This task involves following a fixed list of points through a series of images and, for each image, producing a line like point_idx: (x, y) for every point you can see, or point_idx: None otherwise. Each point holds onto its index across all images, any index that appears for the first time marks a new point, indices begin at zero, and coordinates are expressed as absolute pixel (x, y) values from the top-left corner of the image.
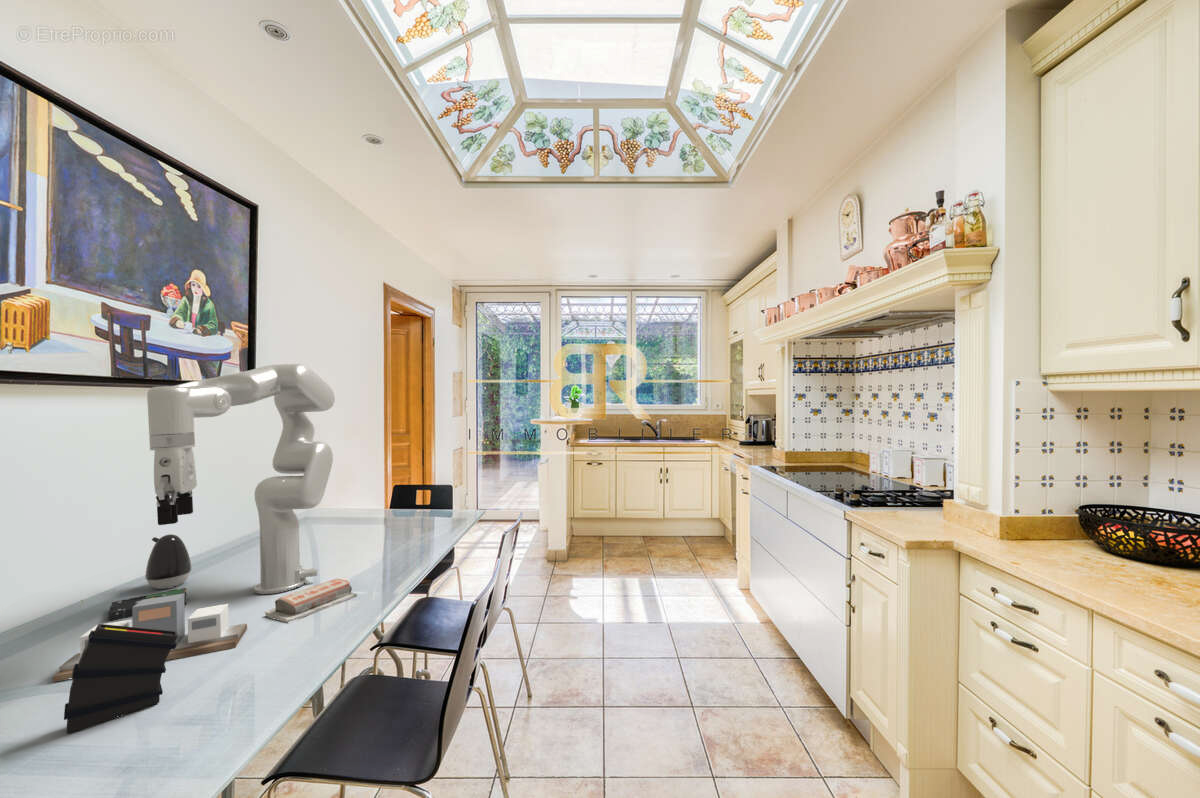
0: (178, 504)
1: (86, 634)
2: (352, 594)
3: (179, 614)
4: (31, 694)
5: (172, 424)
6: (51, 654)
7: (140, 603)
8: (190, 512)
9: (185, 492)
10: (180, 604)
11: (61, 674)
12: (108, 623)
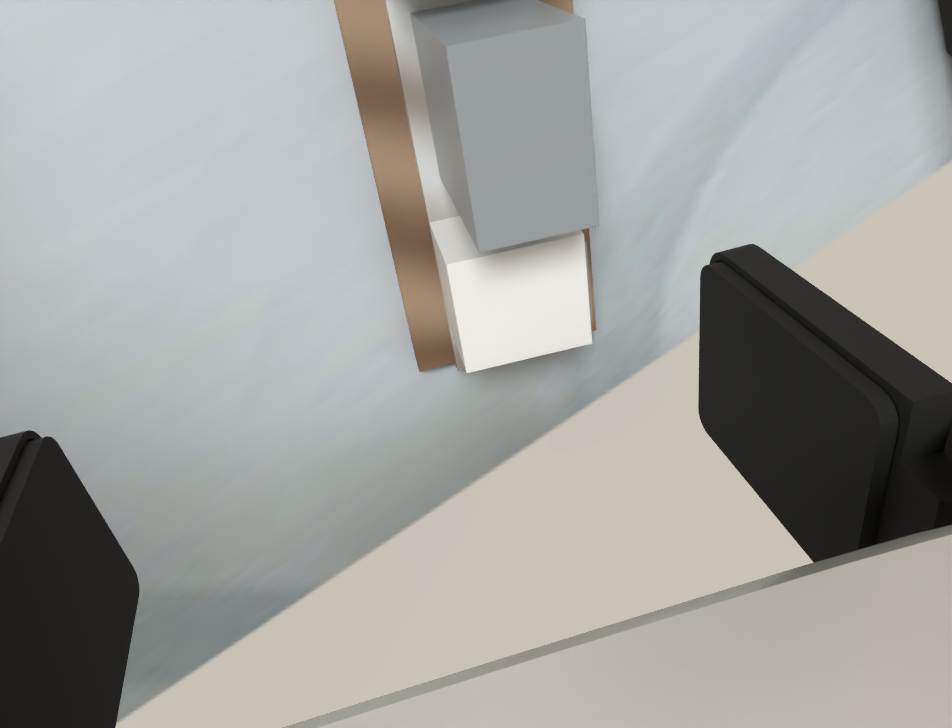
0: (88, 695)
1: (571, 339)
2: None
3: (514, 14)
4: (647, 324)
5: None
6: (337, 486)
7: (546, 221)
8: (49, 448)
9: (915, 535)
10: (506, 25)
11: (594, 312)
12: (463, 336)
